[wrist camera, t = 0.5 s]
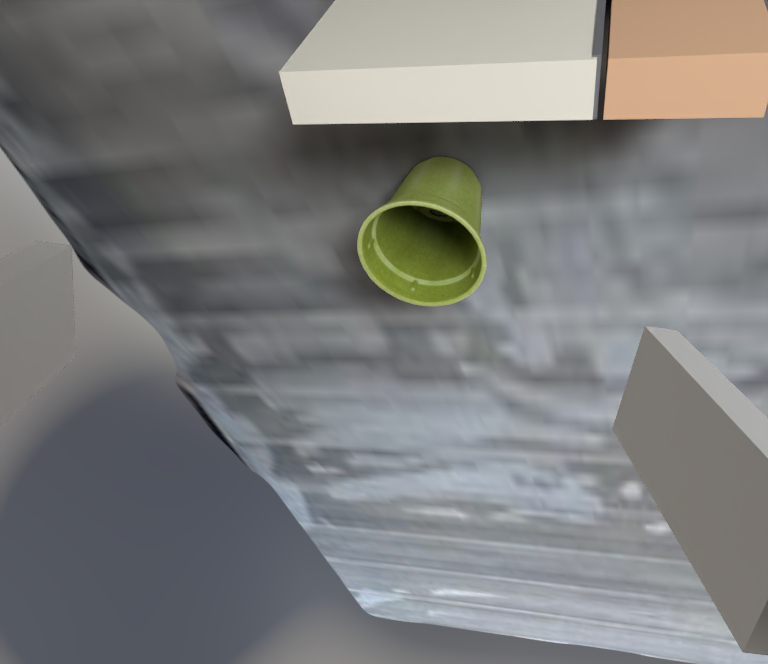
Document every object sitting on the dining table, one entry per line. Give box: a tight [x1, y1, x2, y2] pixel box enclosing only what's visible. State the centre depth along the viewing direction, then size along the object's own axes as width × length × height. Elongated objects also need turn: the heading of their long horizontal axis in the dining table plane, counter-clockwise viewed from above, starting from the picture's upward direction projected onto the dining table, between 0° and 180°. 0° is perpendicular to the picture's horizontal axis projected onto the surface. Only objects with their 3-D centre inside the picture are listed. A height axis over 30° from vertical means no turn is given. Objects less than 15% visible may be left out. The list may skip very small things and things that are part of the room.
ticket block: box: [279, 0, 606, 124], centre depth 38 cm, size 3×16×12 cm, turn 99°
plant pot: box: [357, 156, 487, 306], centre depth 50 cm, size 9×9×9 cm
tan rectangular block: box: [603, 0, 768, 120], centre depth 34 cm, size 3×7×12 cm, turn 99°
